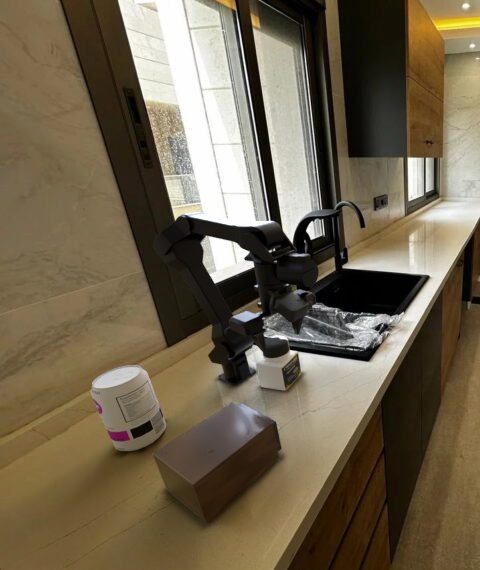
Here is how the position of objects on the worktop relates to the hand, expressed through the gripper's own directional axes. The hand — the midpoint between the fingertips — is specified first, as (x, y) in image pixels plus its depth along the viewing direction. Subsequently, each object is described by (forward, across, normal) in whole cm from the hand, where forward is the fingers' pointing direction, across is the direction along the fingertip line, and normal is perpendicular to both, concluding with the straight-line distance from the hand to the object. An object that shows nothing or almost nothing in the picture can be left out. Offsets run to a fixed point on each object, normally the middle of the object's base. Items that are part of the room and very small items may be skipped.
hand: (281, 342), depth 77 cm
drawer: (+12, -20, -10) cm, 25 cm away
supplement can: (+13, -25, +13) cm, 31 cm away
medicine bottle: (+13, +1, +4) cm, 13 cm away
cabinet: (+13, -22, -10) cm, 27 cm away
